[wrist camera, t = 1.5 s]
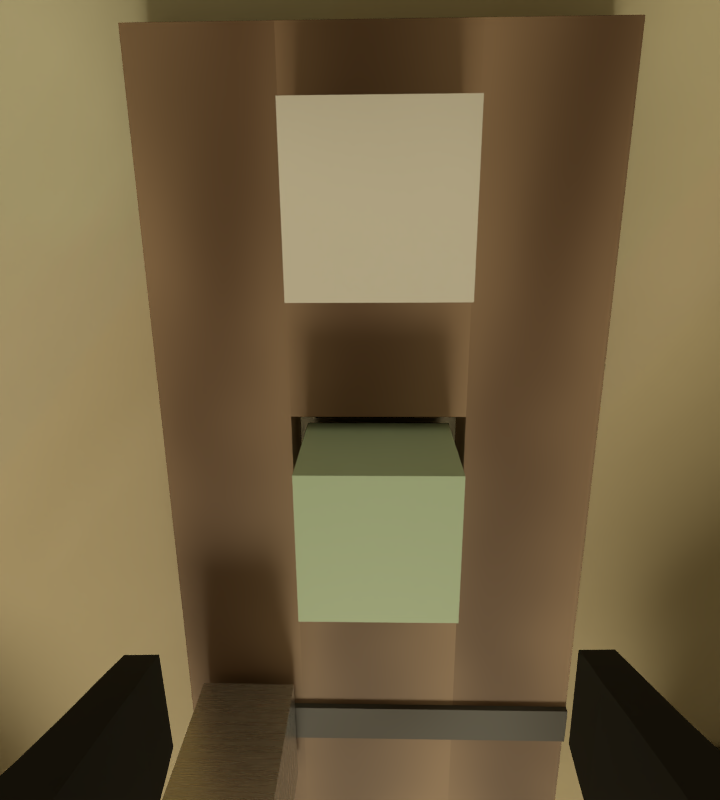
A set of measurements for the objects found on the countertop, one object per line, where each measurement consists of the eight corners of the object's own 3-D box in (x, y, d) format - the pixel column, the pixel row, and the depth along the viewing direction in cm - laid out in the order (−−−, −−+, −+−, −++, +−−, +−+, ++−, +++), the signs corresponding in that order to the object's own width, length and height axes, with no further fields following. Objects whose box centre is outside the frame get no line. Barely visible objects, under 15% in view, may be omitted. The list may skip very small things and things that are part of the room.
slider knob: (293, 684, 19) (273, 802, 16) (298, 774, 20) (280, 905, 17) (203, 683, 19) (162, 800, 16) (213, 772, 21) (175, 902, 17)
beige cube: (460, 116, 15) (483, 93, 12) (453, 281, 17) (473, 302, 13) (297, 118, 16) (275, 95, 12) (303, 281, 17) (284, 302, 13)
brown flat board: (613, 36, 16) (649, 12, 14) (538, 764, 23) (554, 820, 21) (148, 43, 16) (114, 20, 14) (218, 759, 24) (202, 814, 22)
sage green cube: (448, 423, 18) (465, 476, 14) (443, 547, 19) (458, 622, 16) (308, 423, 18) (292, 476, 15) (312, 546, 19) (298, 621, 16)
